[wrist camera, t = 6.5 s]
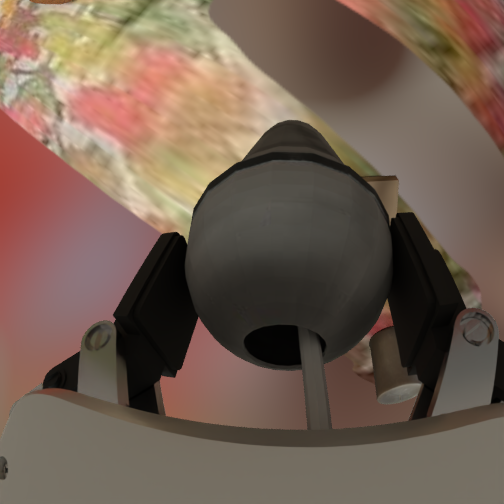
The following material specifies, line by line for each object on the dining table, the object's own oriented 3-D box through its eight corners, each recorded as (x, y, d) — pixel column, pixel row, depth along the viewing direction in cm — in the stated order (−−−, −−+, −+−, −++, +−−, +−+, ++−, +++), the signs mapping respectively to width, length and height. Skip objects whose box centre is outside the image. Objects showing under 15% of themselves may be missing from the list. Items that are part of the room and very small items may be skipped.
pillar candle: (361, 348, 56) (367, 409, 45) (384, 322, 50) (397, 389, 39) (395, 352, 57) (404, 409, 45) (419, 328, 51) (434, 389, 39)
